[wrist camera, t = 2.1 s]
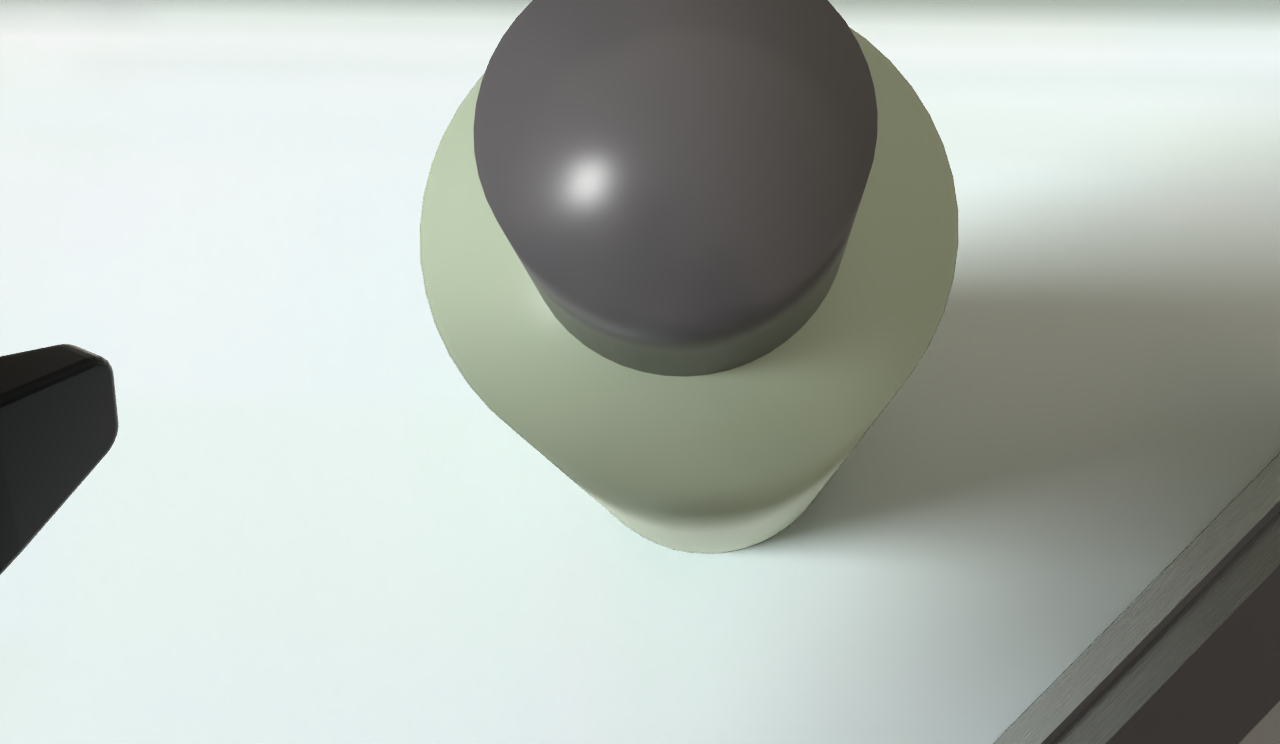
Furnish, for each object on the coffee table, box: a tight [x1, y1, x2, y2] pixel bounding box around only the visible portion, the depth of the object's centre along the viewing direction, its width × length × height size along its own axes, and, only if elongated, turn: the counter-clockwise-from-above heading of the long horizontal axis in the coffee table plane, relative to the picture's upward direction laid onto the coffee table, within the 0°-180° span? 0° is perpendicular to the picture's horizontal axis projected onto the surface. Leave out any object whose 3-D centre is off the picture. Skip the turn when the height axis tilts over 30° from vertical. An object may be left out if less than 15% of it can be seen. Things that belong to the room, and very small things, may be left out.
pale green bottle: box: [420, 0, 958, 554], centre depth 14 cm, size 5×5×12 cm
